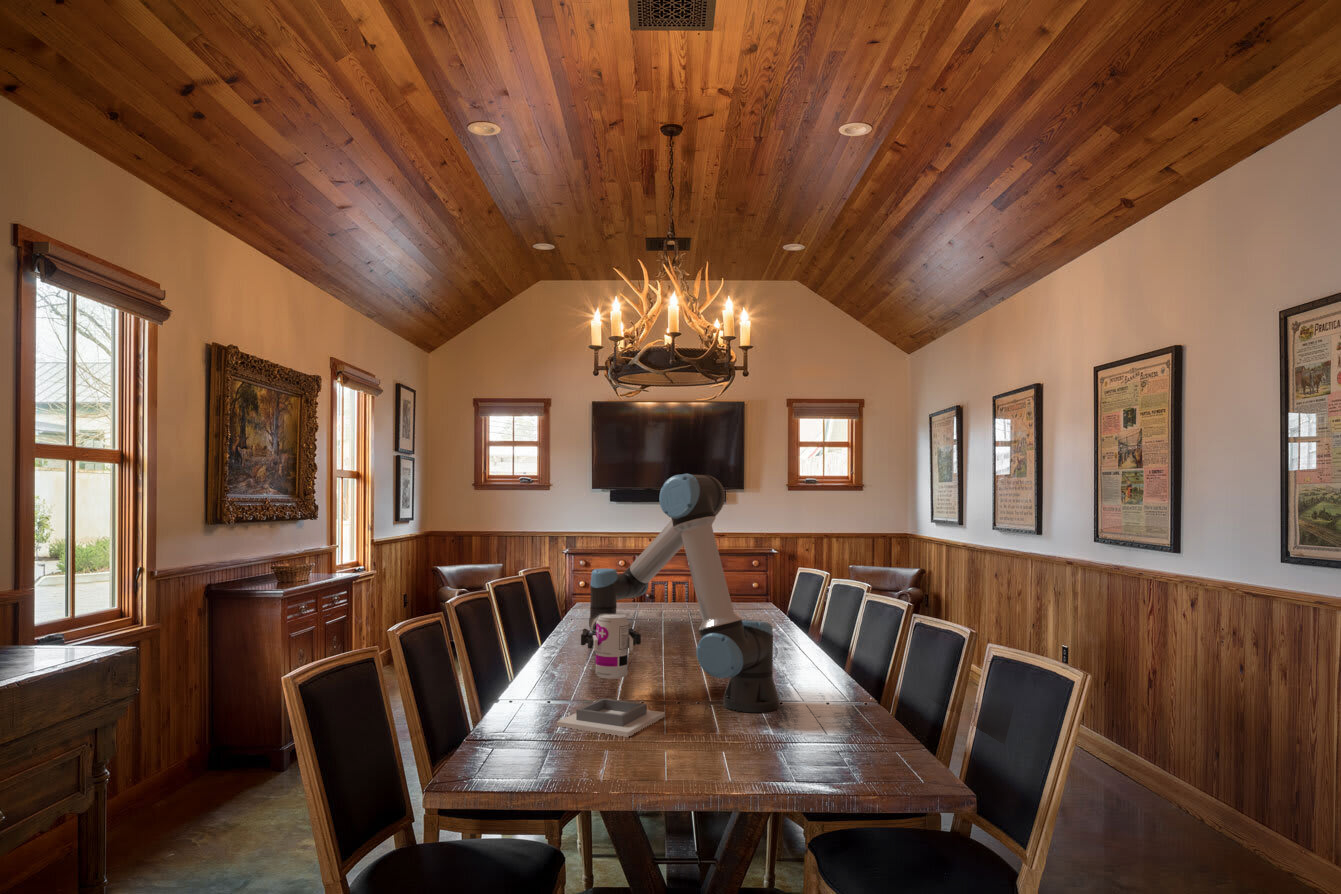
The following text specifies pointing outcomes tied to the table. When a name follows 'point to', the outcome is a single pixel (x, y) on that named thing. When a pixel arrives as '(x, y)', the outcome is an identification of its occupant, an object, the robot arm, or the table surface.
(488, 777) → the table surface
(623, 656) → the supplement can
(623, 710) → the socket board
